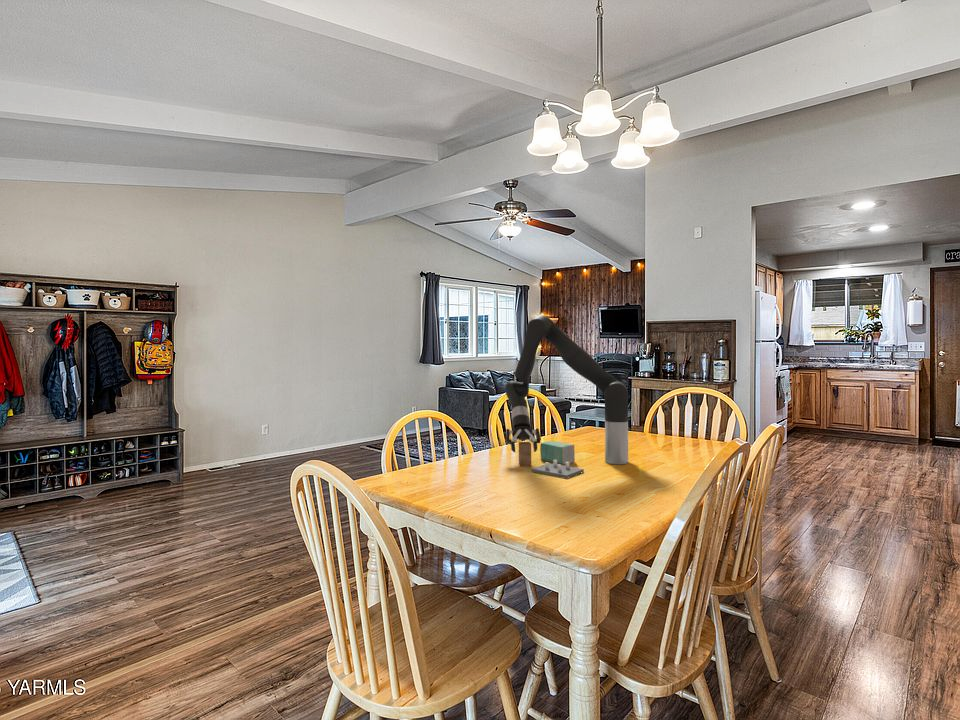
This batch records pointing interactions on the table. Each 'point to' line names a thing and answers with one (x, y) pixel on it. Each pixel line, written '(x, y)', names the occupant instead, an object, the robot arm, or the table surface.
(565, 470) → the peg plate
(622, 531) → the table surface
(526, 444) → the post
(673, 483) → the table surface
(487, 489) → the table surface
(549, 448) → the box
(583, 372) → the robot arm
